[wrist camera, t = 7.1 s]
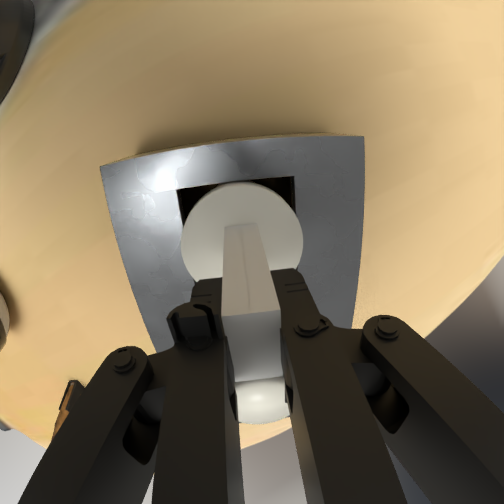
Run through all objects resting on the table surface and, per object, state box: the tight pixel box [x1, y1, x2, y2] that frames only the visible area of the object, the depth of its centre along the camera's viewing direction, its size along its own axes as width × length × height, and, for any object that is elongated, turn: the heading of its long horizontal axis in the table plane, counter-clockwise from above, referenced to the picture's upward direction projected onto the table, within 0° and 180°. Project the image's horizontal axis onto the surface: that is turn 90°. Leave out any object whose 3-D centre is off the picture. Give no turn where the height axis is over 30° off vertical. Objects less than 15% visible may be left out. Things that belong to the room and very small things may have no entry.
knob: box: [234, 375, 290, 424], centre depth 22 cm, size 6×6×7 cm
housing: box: [100, 133, 365, 423], centre depth 20 cm, size 24×14×6 cm, turn 5°
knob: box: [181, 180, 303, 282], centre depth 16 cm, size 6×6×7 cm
